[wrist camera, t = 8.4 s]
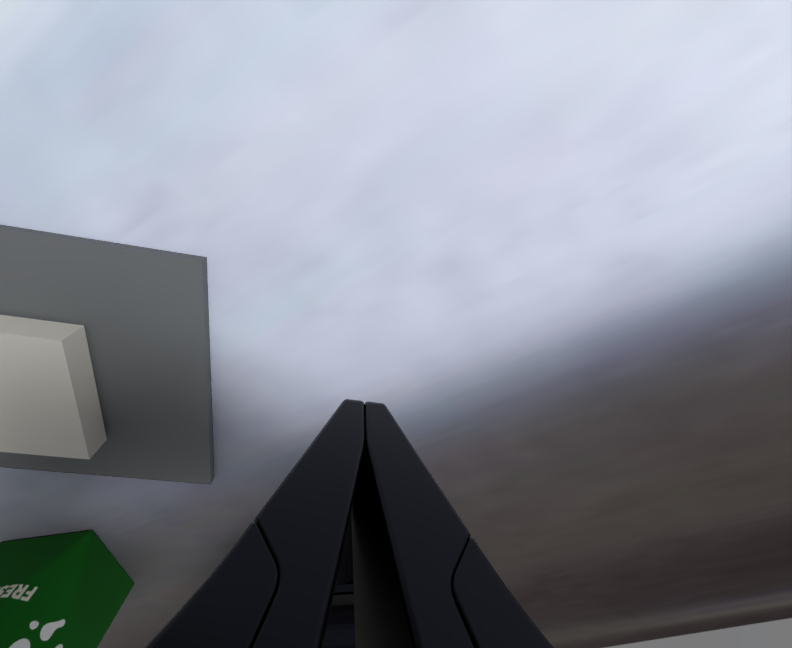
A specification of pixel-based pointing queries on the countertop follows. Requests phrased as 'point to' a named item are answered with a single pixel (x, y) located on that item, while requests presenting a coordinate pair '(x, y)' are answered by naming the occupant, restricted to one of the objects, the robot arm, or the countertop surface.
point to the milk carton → (59, 591)
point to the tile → (47, 390)
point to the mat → (124, 347)
